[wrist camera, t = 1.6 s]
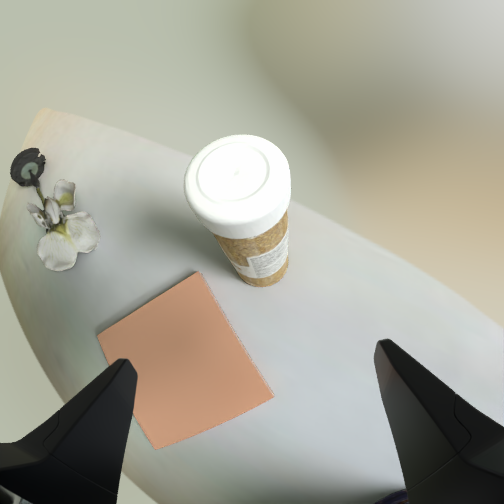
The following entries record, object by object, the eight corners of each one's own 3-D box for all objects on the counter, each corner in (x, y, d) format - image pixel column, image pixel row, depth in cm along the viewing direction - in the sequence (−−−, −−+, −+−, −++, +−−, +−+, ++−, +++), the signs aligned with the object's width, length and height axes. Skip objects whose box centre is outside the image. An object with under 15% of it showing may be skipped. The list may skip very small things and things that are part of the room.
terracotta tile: (274, 394, 20) (273, 397, 19) (159, 446, 19) (155, 449, 18) (201, 274, 24) (198, 271, 23) (102, 336, 23) (96, 335, 22)
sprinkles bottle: (227, 252, 24) (167, 159, 11) (273, 228, 24) (257, 116, 12) (250, 298, 23) (204, 242, 10) (299, 272, 23) (312, 187, 10)
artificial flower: (61, 157, 35) (41, 113, 26) (119, 255, 30) (91, 211, 21) (20, 188, 31) (-7, 149, 22) (65, 299, 27) (20, 270, 18)
